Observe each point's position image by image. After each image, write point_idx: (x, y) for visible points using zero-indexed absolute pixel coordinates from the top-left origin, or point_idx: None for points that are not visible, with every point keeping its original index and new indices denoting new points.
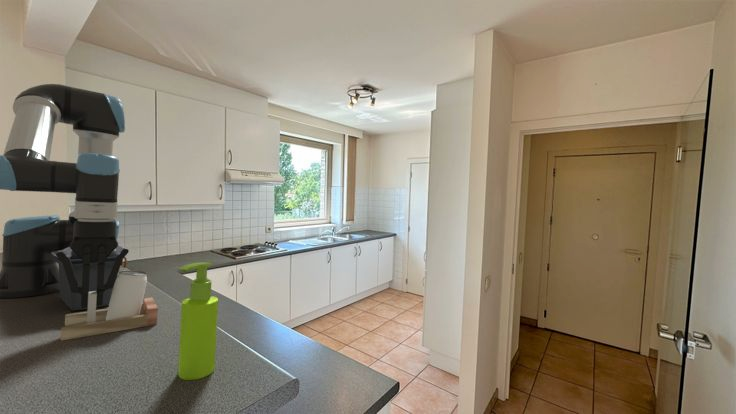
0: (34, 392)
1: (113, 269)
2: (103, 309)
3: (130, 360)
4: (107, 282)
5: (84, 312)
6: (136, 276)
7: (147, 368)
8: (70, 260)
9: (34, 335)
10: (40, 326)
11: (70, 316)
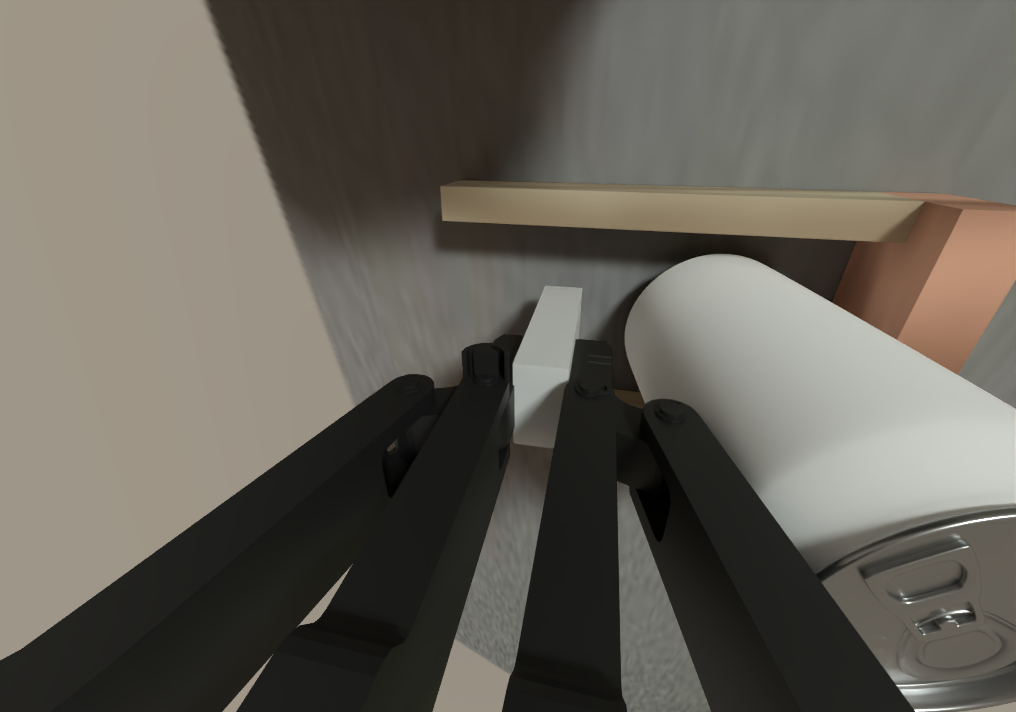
0: (463, 615)
1: (708, 688)
2: (635, 199)
3: (631, 623)
4: (649, 445)
5: (530, 203)
6: (899, 689)
7: (652, 669)
8: (122, 686)
9: (375, 268)
10: (361, 131)
11: (467, 219)
